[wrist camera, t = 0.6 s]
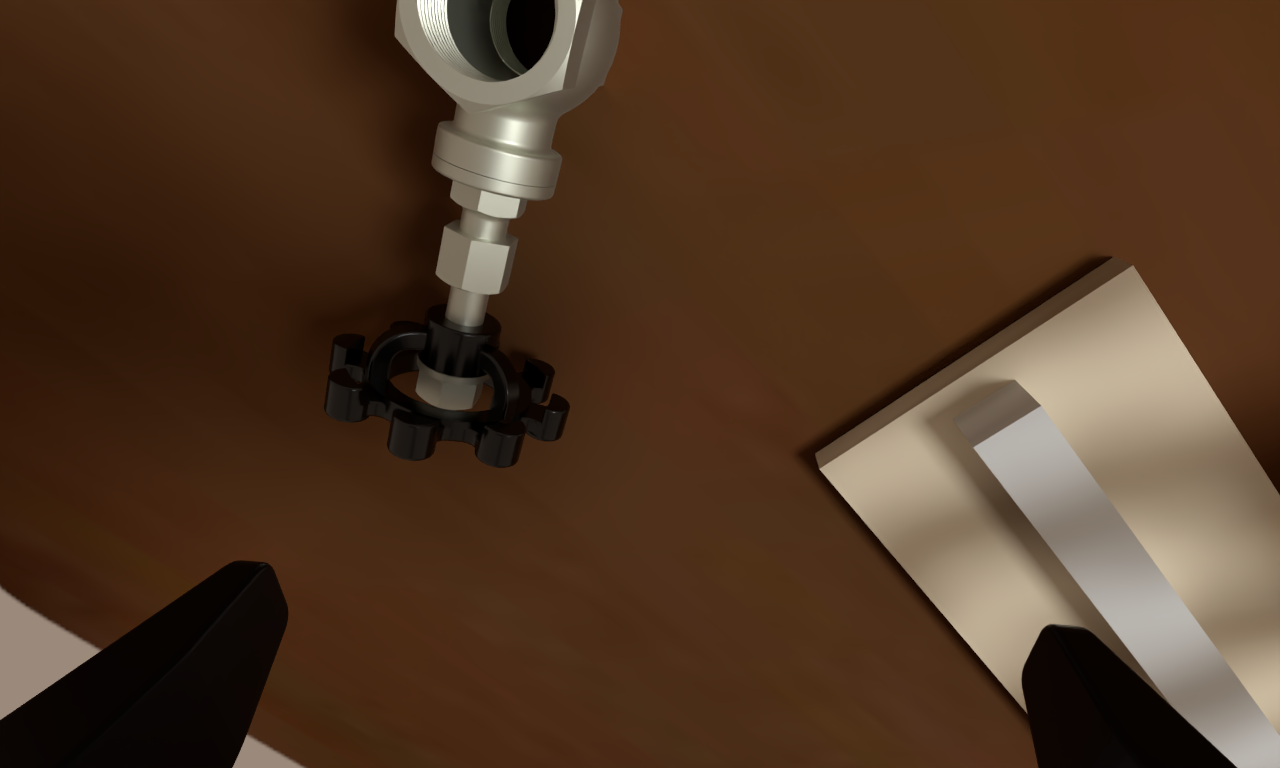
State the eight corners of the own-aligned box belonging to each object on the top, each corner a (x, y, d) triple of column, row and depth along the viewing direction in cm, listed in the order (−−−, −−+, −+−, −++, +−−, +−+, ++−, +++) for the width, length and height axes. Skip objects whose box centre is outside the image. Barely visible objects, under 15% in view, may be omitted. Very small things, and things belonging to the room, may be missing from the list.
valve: (448, -100, 19) (379, 330, 23) (325, -185, 13) (265, 419, 17) (697, -19, 19) (579, 390, 24) (694, -63, 13) (536, 500, 18)
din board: (1465, 802, 27) (1545, 879, 24) (1193, 901, 30) (1239, 978, 27) (1113, 256, 21) (1172, 283, 18) (815, 453, 24) (828, 499, 21)
